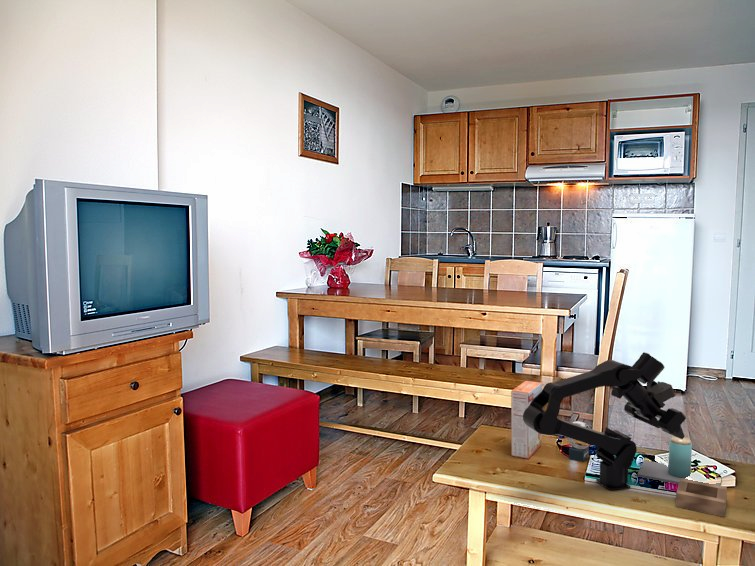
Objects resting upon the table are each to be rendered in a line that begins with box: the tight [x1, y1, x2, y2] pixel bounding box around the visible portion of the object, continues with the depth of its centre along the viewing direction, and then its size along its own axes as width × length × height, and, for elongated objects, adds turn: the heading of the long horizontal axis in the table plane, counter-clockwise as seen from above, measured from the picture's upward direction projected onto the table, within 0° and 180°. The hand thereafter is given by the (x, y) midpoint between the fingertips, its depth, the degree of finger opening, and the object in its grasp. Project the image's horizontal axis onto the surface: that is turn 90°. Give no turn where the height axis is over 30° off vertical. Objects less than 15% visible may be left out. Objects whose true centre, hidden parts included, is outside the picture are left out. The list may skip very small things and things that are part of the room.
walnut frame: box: [675, 478, 728, 518], centre depth 150 cm, size 11×11×4 cm
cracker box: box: [510, 380, 543, 460], centre depth 187 cm, size 14×6×21 cm, turn 148°
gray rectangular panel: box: [637, 459, 722, 486], centre depth 166 cm, size 20×12×1 cm, turn 58°
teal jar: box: [667, 435, 693, 478], centre depth 166 cm, size 6×6×10 cm
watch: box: [566, 420, 592, 463], centre depth 181 cm, size 6×8×11 cm
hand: (671, 432), depth 165 cm, fingers open, 9 cm apart
